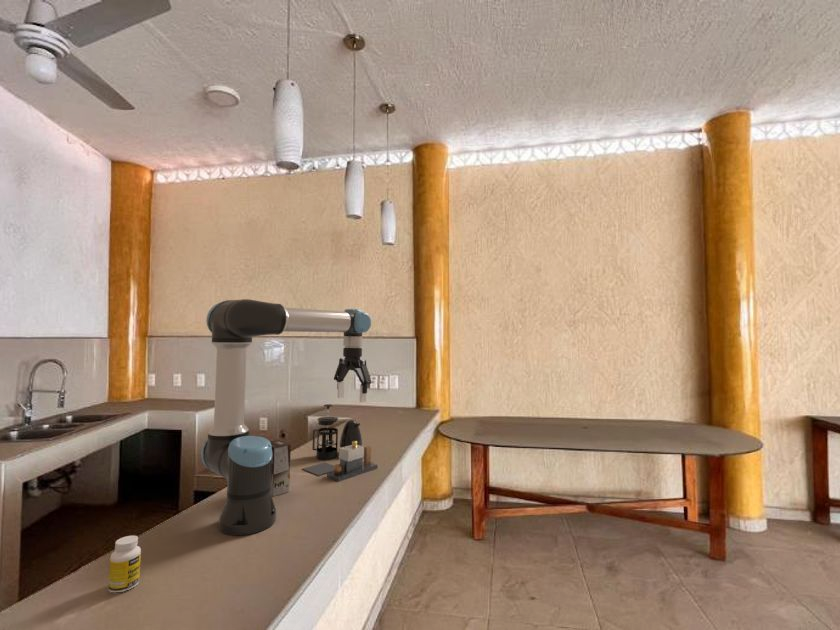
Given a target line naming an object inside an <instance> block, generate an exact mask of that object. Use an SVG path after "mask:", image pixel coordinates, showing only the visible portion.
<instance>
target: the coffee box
mask: <svg viewBox="0 0 840 630" xmlns="http://www.w3.org/2000/svg"><path fill="white" fill-rule="evenodd" d="M270 443H271V446H272V463H271V491H270V492H271V496H272V497H276V496H279V495H283V494H286V493H289V492H290V486H291V454H292V453H291V449H292V448H291V444H290V443H287V442H285V441H282V440H278V439H277V440H271V441H270Z"/></svg>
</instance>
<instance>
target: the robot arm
mask: <svg viewBox="0 0 840 630" xmlns="http://www.w3.org/2000/svg"><path fill="white" fill-rule="evenodd" d="M371 325H372V319H371V316H370V314H368V313H367V312H365V311H363V310H361V309H358V308H356V309H355V308H346V309H344V311H343V310H329V309H328V310H327V309H312V308H297V307H295V308H294V307H286V306H284V305H283V304H281V303H274V302H267V301H259V300H256V299H250V298H248V299H247V298H246V299H228V300H223V301H221V302H218V303H216V304H214V305H213V306H212V307H211V308H210V310H209V311H208V312H207V315H206V326H207V329H208V330H209V332H210V333H211V344H212V346H214V347H215V348H216V362H215V363H216V365H215V390H214V391H215V392H214V411H213V412H214V415H213V426H212V427H211V428H210V429H209V430H208V432H207V439H206V441H205V442H204V443H203V444H202V448H201V450H200V451H201V452H200V457H201V461H202V464H203V465H204V467H206V468H207V469H208V470H209V471H210V472H212V473H213V474H215V475H218V476H221V477H222V478H225V479H226V482H227V483H226V485H227V486H226V489H227V490H226V499H225V503H224V505H223V508H222V510H221V514H220V516H219V520H218V530H219V531H220V532H221V533H222V534H225V535H229V536H245V535H246V536H247V535H251V534H256V533H259V532H262V531H264V530H266V529H268V528H270V527H272V525H274V523H276V521H277V509H276V506H275V503H274V500H273V496H272V495H271V492H270V491H271V463H272V446H271V443H270V442H271V441H270V440H269V439H267V438H266V437H262V436H255V435H250V428H249V427H248V426H247V425H246V424H245V407H246V406H245V403H246V402H245V400H246V380H247V379H246V376H247V375H246V374H247V373H246V372H247V371H246V370H247V352H248V351H247V349H248V348H249V347H250V346H251V345H252V344H253V338H254V337H255V338H256V337H260V336H271V335H275V336H276V335H279V336H280V335H281V334H282V333H283V332H285V333H286V332H288V333H289V332H292V333H293V332H294V333H295V332H296V333H298V332H299V333H300V332H301V333H303V332H304V333H343V341H342V343H343V344H342V345H343V348H342V349H343V351H342V356H343V357H342V358H341V357H340V358H339V359H338V365H337V368H336V370H335V373H334V377H333V380H334V381H336V382H337V385H336V387H337V388H336V389H337V398H338V399H342V398H343V399H344V398H345V378H346V376H347V375H348V373H349V371H353V372H355V374H356V376H357V378H358V381H359V382H360V385H359V403H364V402H367V394H368V385H370V384H372V379H371V376H370V372H369V370H368V367H367V366H368V365H367V359H361V358H362V356H363V349H362V346H363V333H366V332H368V331H370V329H371V327H372V326H371Z"/></svg>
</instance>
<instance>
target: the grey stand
mask: <svg viewBox="0 0 840 630" xmlns="http://www.w3.org/2000/svg"><path fill="white" fill-rule="evenodd" d="M363 447H364V457H362V458H359V459H355V460H352V461H349V462H348V461H345V460H342V459H339V464H338V463H337V464H336V463H335V464H334V471H332V472H329V473H327V474H326V478H328V479H331V480H333V481H336V482H338V483H339V482H342V481H344V480H348V479H350V478H353V477H357V476H359V475H363V474H365V473H368V472H370V471H373V470H377V469H378V468H379V467H378V464H376V463H373V462H372V446H370V445H366V446H363Z"/></svg>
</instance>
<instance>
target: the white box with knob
mask: <svg viewBox="0 0 840 630" xmlns="http://www.w3.org/2000/svg"><path fill="white" fill-rule="evenodd" d="M364 447H365V446H363V445H362V446H360V445H357V441H352V445H349V446H345V447H341V448H340V447H339V448H338V459H339V460H340V459H342V460H345V461H348V462H349V461H352V460H355V459H359V458H362V459H363V458H364Z"/></svg>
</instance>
